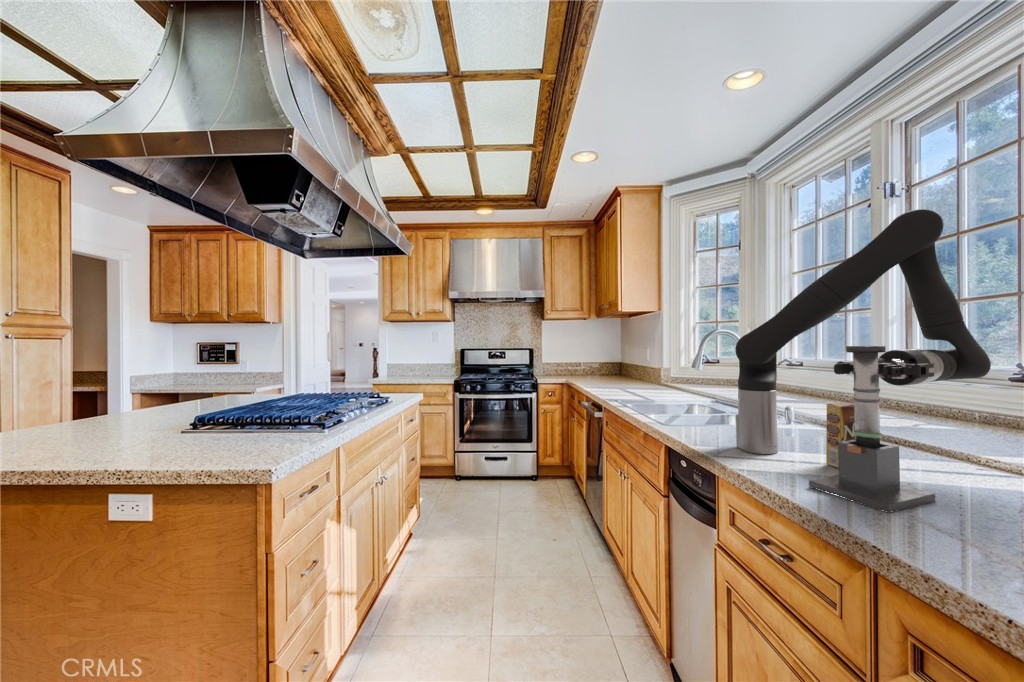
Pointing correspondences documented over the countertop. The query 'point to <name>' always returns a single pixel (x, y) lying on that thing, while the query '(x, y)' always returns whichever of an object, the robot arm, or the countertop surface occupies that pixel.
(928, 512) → the countertop surface
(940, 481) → the countertop surface
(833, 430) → the candy box
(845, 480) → the stand base
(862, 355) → the steel column
